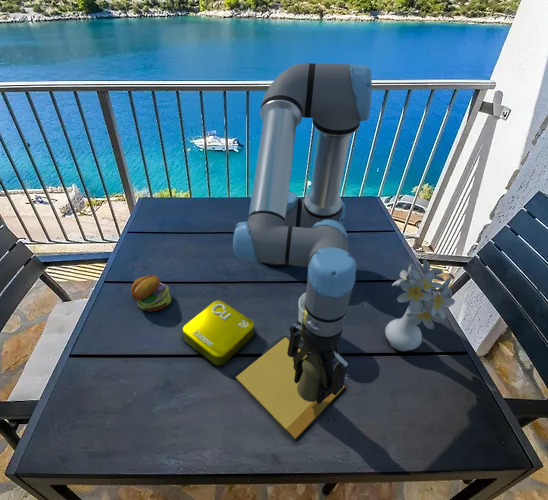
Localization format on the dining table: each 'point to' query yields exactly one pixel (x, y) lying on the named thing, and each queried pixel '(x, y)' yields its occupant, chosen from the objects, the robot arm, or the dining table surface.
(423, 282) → the flower vase
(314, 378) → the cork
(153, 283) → the cheeseburger
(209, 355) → the element tile
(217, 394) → the dining table surface
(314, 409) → the towel
